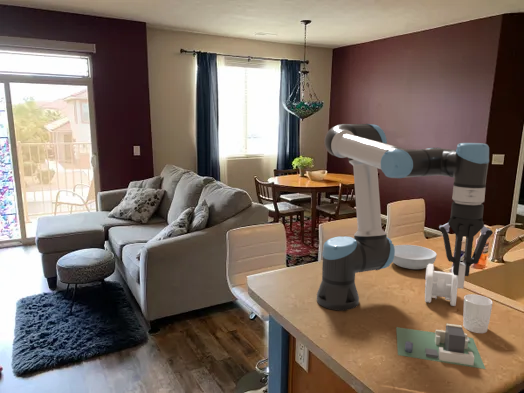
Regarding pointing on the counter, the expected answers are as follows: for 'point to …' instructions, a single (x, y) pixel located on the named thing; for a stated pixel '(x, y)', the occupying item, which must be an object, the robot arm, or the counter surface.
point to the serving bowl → (413, 256)
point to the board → (429, 346)
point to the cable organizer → (440, 285)
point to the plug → (454, 338)
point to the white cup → (476, 313)
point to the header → (453, 356)
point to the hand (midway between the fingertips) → (459, 286)
